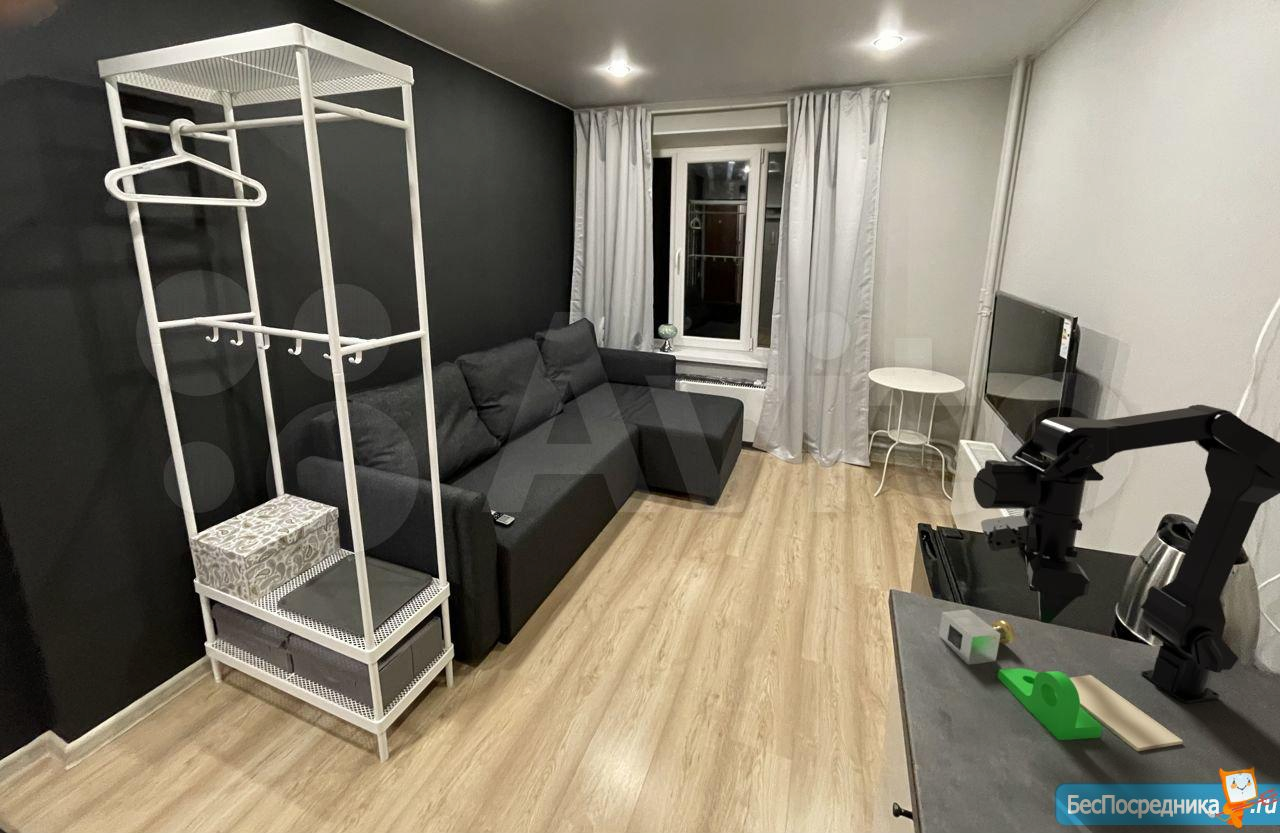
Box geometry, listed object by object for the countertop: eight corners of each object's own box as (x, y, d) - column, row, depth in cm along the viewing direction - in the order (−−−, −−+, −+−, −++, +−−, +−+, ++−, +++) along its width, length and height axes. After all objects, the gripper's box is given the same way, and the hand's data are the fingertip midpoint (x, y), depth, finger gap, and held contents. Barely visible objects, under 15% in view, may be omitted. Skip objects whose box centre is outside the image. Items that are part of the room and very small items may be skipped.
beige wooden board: (1090, 677, 89) (1090, 674, 89) (1182, 743, 76) (1182, 740, 76) (1050, 683, 88) (1050, 680, 88) (1137, 751, 75) (1138, 748, 75)
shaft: (996, 634, 98) (999, 615, 97) (1013, 647, 94) (1016, 628, 93) (959, 639, 96) (962, 620, 96) (974, 652, 93) (978, 632, 92)
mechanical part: (1099, 738, 77) (1111, 688, 76) (1058, 741, 77) (1069, 690, 75) (1033, 678, 89) (1042, 633, 87) (997, 680, 89) (1005, 635, 87)
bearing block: (963, 637, 99) (968, 609, 97) (995, 663, 92) (1000, 633, 91) (938, 640, 98) (942, 612, 97) (967, 667, 91) (972, 637, 90)
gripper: (983, 479, 93) (971, 566, 96) (996, 523, 76) (981, 626, 80) (1066, 488, 88) (1051, 580, 92) (1099, 537, 72) (1079, 647, 75)
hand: (1038, 605), depth 85 cm, fingers open, 9 cm apart
